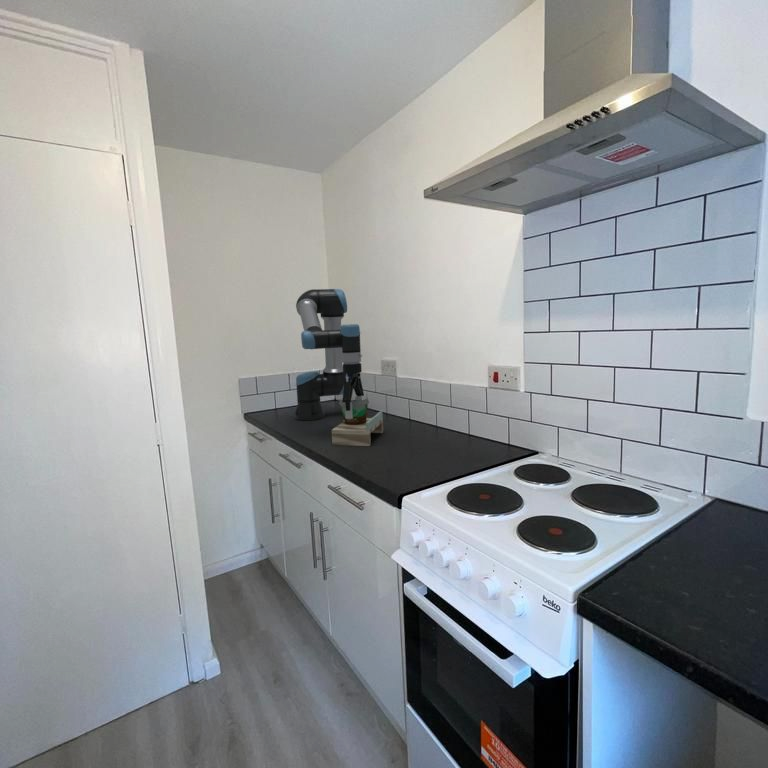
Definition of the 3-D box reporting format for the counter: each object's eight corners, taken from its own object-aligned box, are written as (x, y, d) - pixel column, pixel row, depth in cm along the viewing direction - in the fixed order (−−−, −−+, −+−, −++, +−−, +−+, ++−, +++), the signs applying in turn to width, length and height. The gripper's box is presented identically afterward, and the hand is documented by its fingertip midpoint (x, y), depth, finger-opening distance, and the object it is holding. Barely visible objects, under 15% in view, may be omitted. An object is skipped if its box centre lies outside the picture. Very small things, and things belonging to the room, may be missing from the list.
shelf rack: (350, 431, 184) (349, 411, 183) (383, 431, 180) (382, 411, 179) (332, 445, 163) (331, 422, 162) (369, 446, 159) (368, 423, 158)
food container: (338, 426, 168) (337, 401, 167) (340, 422, 174) (339, 399, 173) (369, 424, 168) (368, 400, 167) (369, 421, 174) (368, 397, 173)
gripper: (351, 366, 155) (353, 421, 158) (369, 360, 179) (371, 408, 182) (332, 366, 157) (335, 421, 160) (352, 360, 181) (354, 408, 184)
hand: (354, 414), depth 171 cm, fingers open, 13 cm apart
